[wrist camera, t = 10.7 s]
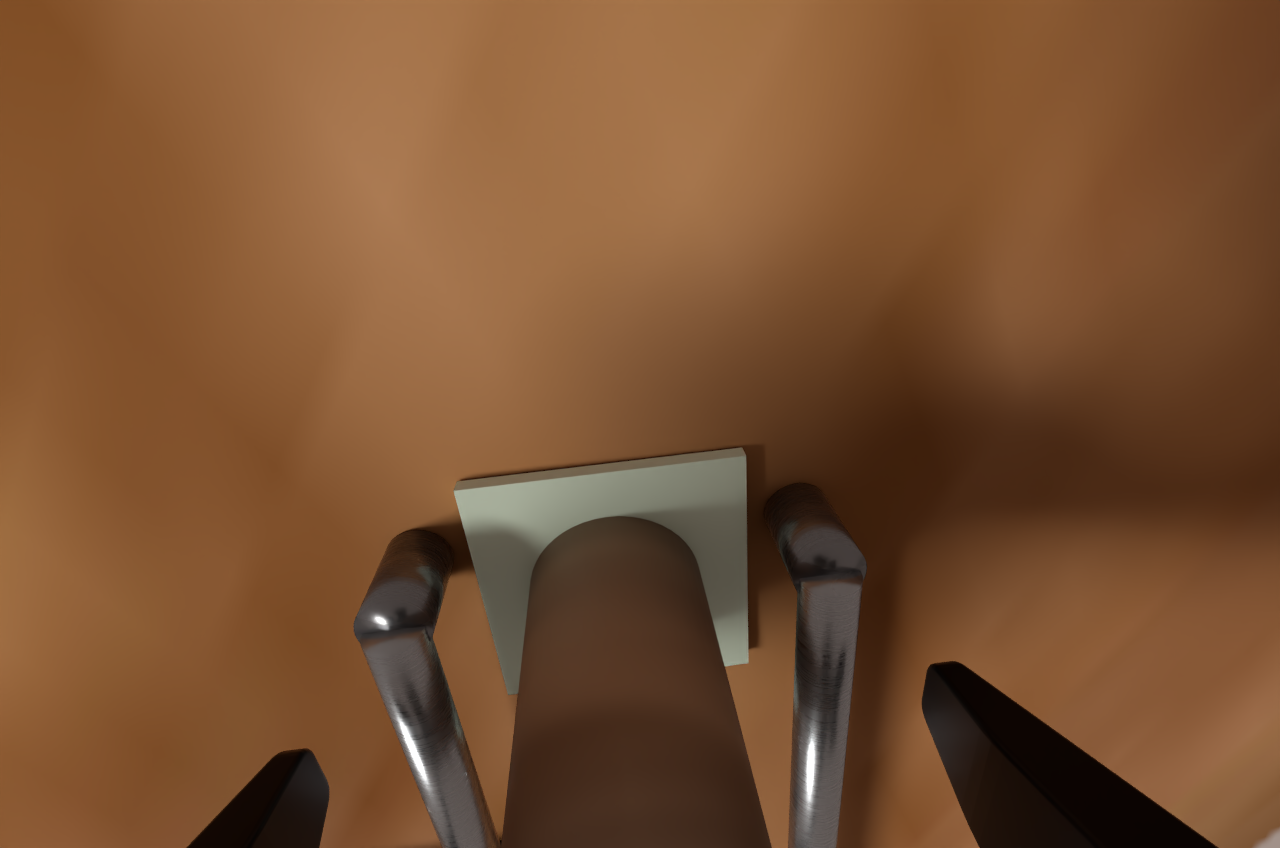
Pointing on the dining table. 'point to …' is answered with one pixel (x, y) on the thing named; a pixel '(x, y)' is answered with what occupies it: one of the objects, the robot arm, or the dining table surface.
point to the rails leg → (432, 731)
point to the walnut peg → (625, 702)
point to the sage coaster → (648, 488)
